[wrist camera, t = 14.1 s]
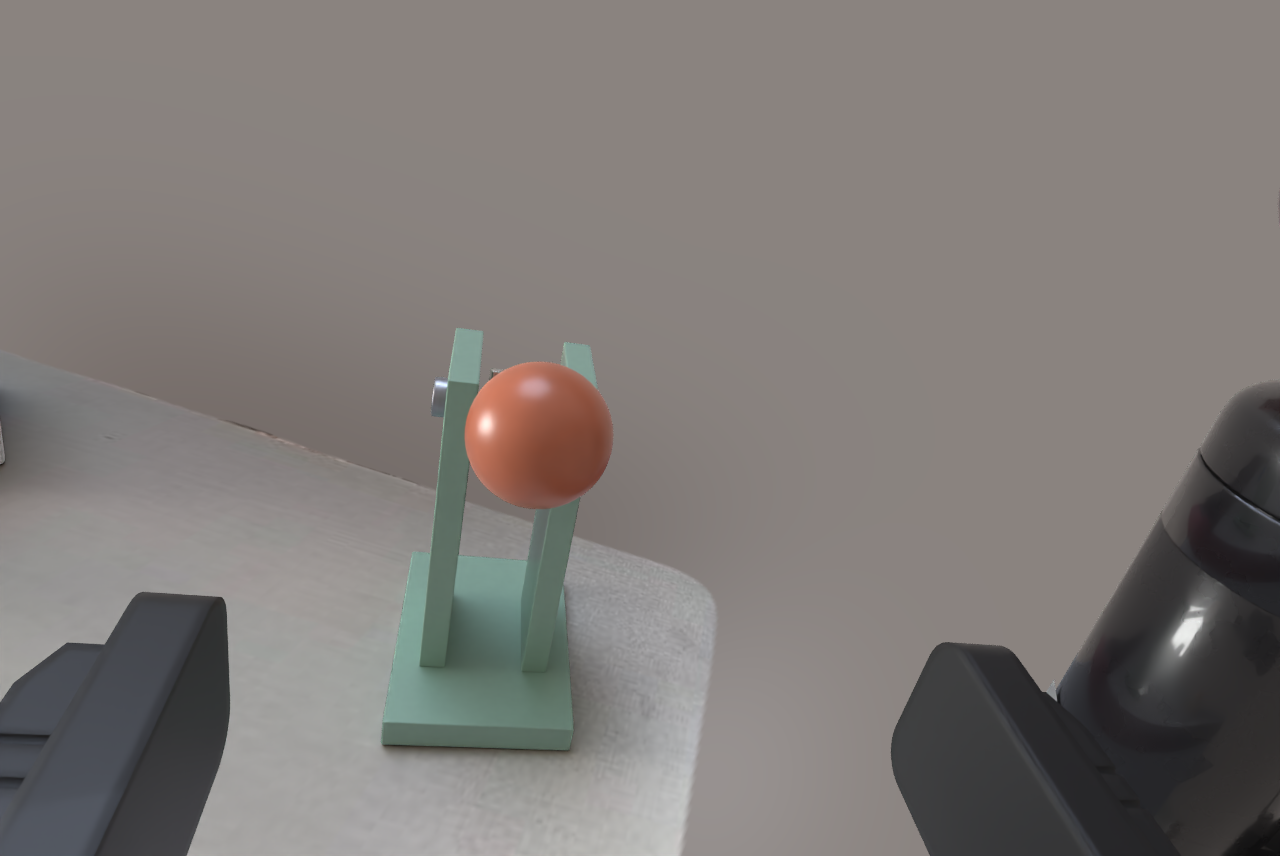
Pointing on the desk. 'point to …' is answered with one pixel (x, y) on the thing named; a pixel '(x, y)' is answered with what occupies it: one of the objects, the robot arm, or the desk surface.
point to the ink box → (1, 447)
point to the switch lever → (538, 435)
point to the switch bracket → (483, 608)
